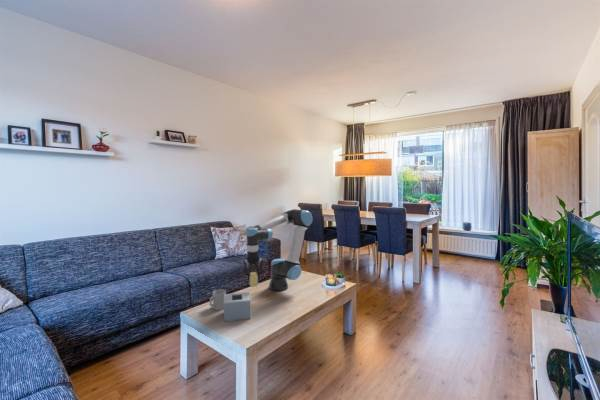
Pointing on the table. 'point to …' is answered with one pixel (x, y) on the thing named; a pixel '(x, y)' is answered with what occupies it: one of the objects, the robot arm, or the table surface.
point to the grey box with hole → (237, 306)
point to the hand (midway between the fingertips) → (253, 284)
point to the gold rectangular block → (253, 279)
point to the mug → (218, 299)
